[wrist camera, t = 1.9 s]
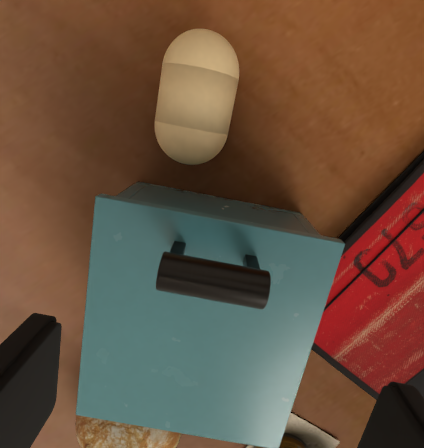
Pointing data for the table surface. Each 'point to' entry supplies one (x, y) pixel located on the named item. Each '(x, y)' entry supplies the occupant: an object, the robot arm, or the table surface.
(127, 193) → the bread box
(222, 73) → the beige rounded capsule
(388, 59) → the table surface
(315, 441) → the condiment
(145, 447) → the bread roll
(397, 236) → the binder
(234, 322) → the bread box lid
